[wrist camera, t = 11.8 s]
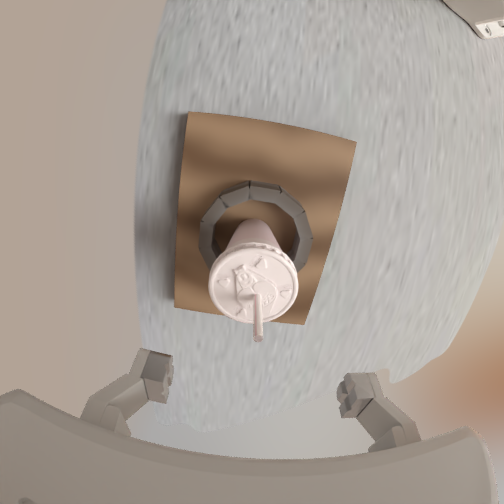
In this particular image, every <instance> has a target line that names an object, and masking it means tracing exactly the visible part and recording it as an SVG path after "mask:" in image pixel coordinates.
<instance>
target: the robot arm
mask: <svg viewBox="0 0 504 504" xmlns="http://www.w3.org/2000/svg"><path fill="white" fill-rule="evenodd" d="M443 1H444V2H445V3H446V4H447V5H448V6H449V7H450V8H451V9H452V10H453V11H454V12H456V13H457V14H458V15H459V16H461V17H462V18H463V19H464V20H466V21H467V22H468V23H469V24H470V26H471V27H472V28H473V30H474V31H475V32H476V33H477V34H478V36H479V37H480V38H482V39H490V38H496V37H502V36H504V0H443ZM172 362H173V356H171V355H167V354H163V353H159V352H155V351H151V350H147V349H143V348H140V350H139V351H138V353H137V356H136V358H135V361H134V363H133V365H132V368H131V370H130V372H129V375H128V374H125V375H123V376H122V377H120V378H119V379H117V380H116V381H114V382H112V383H111V384H109V385H108V386H106V387H104V388H103V389H101V390H100V391H98V392H96V393H95V394H93V395H92V396H90V397H89V399H88V401H87V403H86V406H85V408H84V410H83V413H82V415H81V417H80V418H77V417H75V416H72V415H70V414H68V413H66V412H64V411H61V410H59V409H57V408H55V407H53V406H51V405H49V404H47V403H45V402H44V401H42V400H40V399H38V398H36V397H34V396H32V395H31V394H29V393H27V392H25V391H24V390H21V389H16V390H13V391H10V392H8V393H5V394H3V395H1V396H0V504H499V501H498V491H497V484H496V478H495V473H494V469H493V465H492V461H491V457H490V454H489V450H488V447H487V444H486V442H485V440H484V438H483V437H482V436H481V435H480V434H479V433H477V432H476V431H475V430H474V429H472V428H471V427H469V426H464V427H461V428H459V429H456V430H453V431H450V432H447V433H445V434H442V435H438V436H436V437H432V438H429V439H426V440H422V441H421V438H420V435H419V433H418V429H417V427H416V424H415V422H414V421H413V420H412V419H411V418H410V417H409V416H407V415H406V414H405V413H404V412H403V411H402V410H401V409H399V408H398V407H397V406H396V405H395V404H394V403H393V402H391V401H390V400H389V399H388V398H387V397H384V395H383V392H382V389H381V386H380V384H379V381H378V378H377V375H376V374H375V373H347V374H346V375H345V376H344V381H343V382H341V383H340V384H339V386H338V388H337V400H338V401H339V402H340V403H341V405H340V407H339V409H340V413H341V418H353V417H354V418H355V417H357V418H356V419H357V420H358V421H359V422H360V423H361V425H362V426H363V427H364V428H365V429H366V431H367V432H368V433H369V434H370V436H371V437H372V438H373V439H374V440H375V443H374V444H373V445H371V446H370V447H369V449H368V451H369V452H368V453H362V454H356V455H348V456H339V457H328V458H314V459H254V458H240V457H239V458H238V457H229V456H220V455H212V454H205V453H198V452H192V451H186V450H181V449H176V448H172V447H167V446H163V445H159V444H155V443H151V442H147V441H143V440H140V439H136V438H133V437H130V436H131V432H130V430H129V428H128V426H127V424H126V420H127V419H128V418H130V417H131V416H132V415H133V414H134V413H135V412H137V411H138V410H139V409H140V408H141V407H142V406H143V405H145V404H146V403H147V402H148V400H151V401H155V402H160V403H165V404H166V403H167V399H168V395H169V386H170V385H171V384H172V380H173V373H174V366H173V365H172Z"/></svg>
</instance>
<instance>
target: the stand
mask: <svg viewBox="0 0 504 504" xmlns="http://www.w3.org/2000/svg"><path fill="white" fill-rule="evenodd" d="M356 143H357V142H355V141H351V140H348V139H344V138H341V137H337V136H333V135H329V134H326V133H322V132H317V131H313V130H309V129H305V128H300V127H295V126H290V125H286V124H280V123H275V122H269V121H264V120H258V119H251V118H244V117H237V116H229V115H221V114H212V113H201V112H188V119H187V126H186V133H185V141H184V149H183V158H182V167H181V177H180V188H179V200H178V213H177V230H176V251H175V294H174V307H175V308H181V309H187V310H192V311H199V312H205V313H211V314H218V315H224V314H223V313H222V312H220V311H219V310H218V309H217V307H216V306H215V305H214V303H213V302H212V300H211V297H210V294H209V289H208V283H209V274H210V270H211V268H212V265H213V263H214V262H215V260H216V259H217V258H218V257H219V255H220V254H222V253H223V252H224V251H225V250H226V248H227V246H228V244H229V242H230V240H231V238H232V236H233V234H234V232H235V231H236V229H237V227H238V225H239V224H240V223H242V222H243V221H245V220H247V219H259V220H262V221H264V222H265V223H266V224H267V225H268V226H269V228H270V229H271V231H272V233H273V235H274V237H275V239H276V241H277V243H278V244H279V246H280V248H281V250H282V252H284V253H285V254H286V255H287V256H288V257H289V258H290V260H291V261H292V262H293V264H294V266H295V269H296V271H297V278H298V293H297V297H296V299H295V301H294V303H293V304H292V306H291V307H290V308H289V309H288V310H287V311H286V312H285V313H284V314H282V315H281V316H279V317H278V318H276V319H273V320H271V322H280V323H290V324H300V325H304V324H305V321H306V318H307V315H308V313H309V310H310V307H311V304H312V301H313V298H314V295H315V292H316V289H317V286H318V283H319V280H320V277H321V274H322V271H323V268H324V265H325V261H326V258H327V255H328V252H329V248H330V245H331V242H332V238H333V235H334V231H335V228H336V224H337V221H338V217H339V213H340V210H341V206H342V202H343V198H344V194H345V191H346V187H347V183H348V178H349V174H350V170H351V166H352V161H353V157H354V153H355V148H356ZM225 316H226V315H225Z"/></svg>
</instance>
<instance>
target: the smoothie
mask: <svg viewBox="0 0 504 504" xmlns="http://www.w3.org/2000/svg"><path fill="white" fill-rule="evenodd" d="M208 289H209V294H210V297H211V300H212V302H213V303H214V305H215V306H216V307H217V309H218V310H219V311H220V312H222V313H223V314H224V315H226V316H227V317H229V318H231V319H233V320H236V321H239V322H243V323H253V340H254V341H255V342H261V341H262V340H263V325H262V323H264V322H268V321H271V320H273V319H276V318H278V317H279V316H281V315H282V314H284V313H285V312H286V311H287V310H288V309H289V308H290V307H291V306H292V304H293V303H294V301H295V299H296V297H297V293H298V278H297V271H296V269H295V266H294V264H293V262H292V261H291V260H290V258H289V257H288V256H287V255H286V254H285V253H284V252H282V250H281V248H280V246H279V244H278V243H277V241H276V239H275V237H274V235H273V233H272V231H271V229H270V228H269V226H268V225H267V224H266V223H265V222H264V221H262V220H259V219H247V220H245V221H243V222H242V223H240V224H239V225H238V227H237V229H236V231H235V232H234V234H233V236H232V238H231V240H230V242H229V244H228V246H227V248H226V250H225V251H224V252H223V253H222V254H220V255H219V257H218V258H217V259H216V260H215V262H214V263H213V265H212V268H211V270H210V274H209V283H208Z"/></svg>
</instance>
